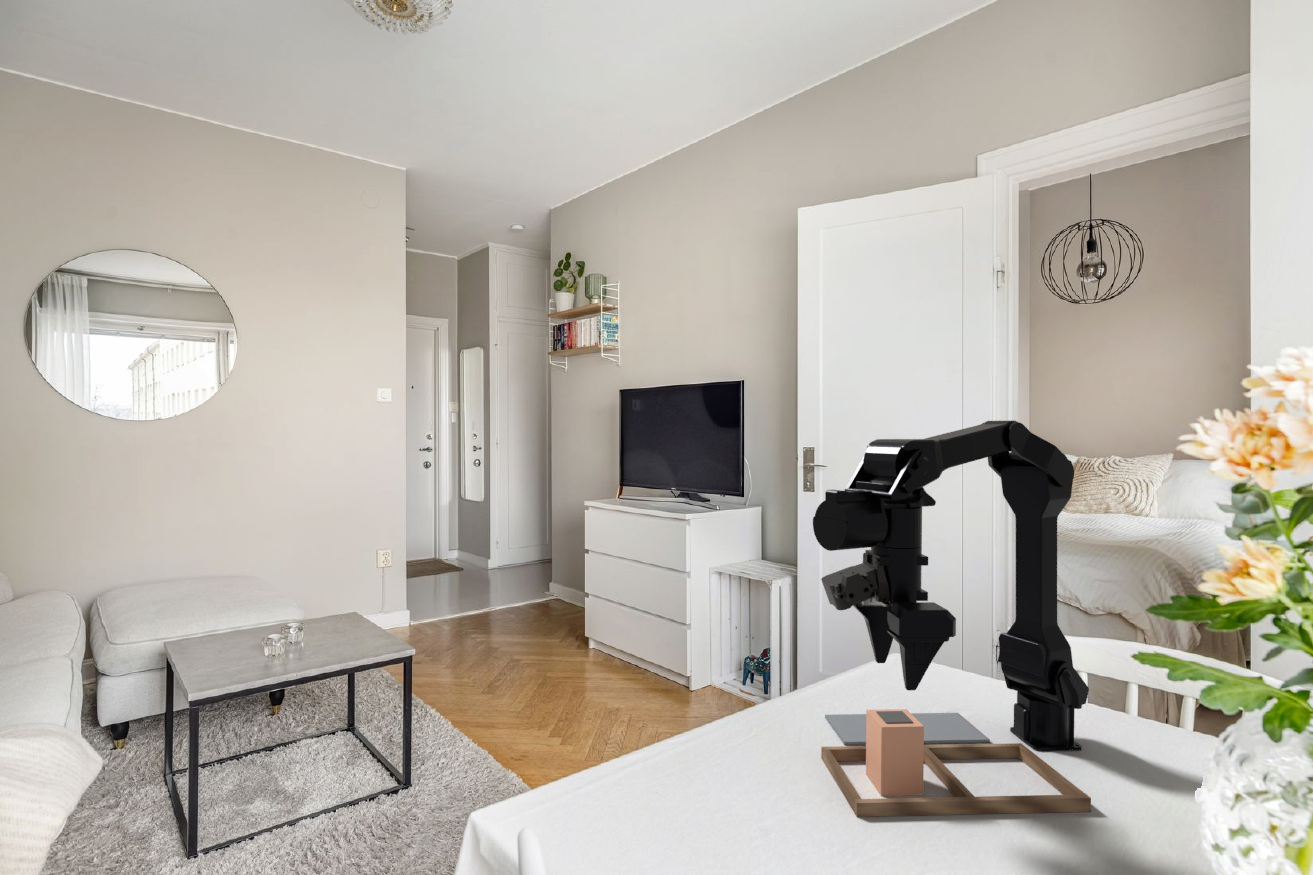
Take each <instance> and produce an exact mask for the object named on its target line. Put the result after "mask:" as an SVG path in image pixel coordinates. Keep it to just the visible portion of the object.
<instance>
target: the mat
mask: <svg viewBox="0 0 1313 875" xmlns="http://www.w3.org/2000/svg"><path fill="white" fill-rule="evenodd" d="M910 713H911V712H910ZM911 714H912V715H913V716H914V717H915V718H916V719H917V720H918V721H919V722H920V723H921V724H922V725H923V726H924V745H928V744H986V743H991V740H990V738H989V737H988V736H986V735H985V734H984V733H983V732H982V731H981V730H979V729H978V728H976V726H974V725H973V724H972V723H971V722H970V721H968V720H967V718H965V717H964V716H963V715H962V714H960V713H959V712H924V713H923V712H919V713H917V712H916V713H914V712H913V713H911ZM824 718H825V720H826V721H827V723H828V724H829V726H830V727H831V728H832V730H833V731H834V733H835V734H836V735H837V737H838V738H839V740H840V741H841V742H842V744H843V746H859V745H860V746H866V713H859V714H858V713H855V714H854V713H853V714H852V713H850V714H847V713H846V714H843V713H842V714H841V713H840V714H824Z"/></svg>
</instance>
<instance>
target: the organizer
mask: <svg viewBox="0 0 1313 875" xmlns="http://www.w3.org/2000/svg"><path fill="white" fill-rule="evenodd" d="M820 750H821V752H820V754H821V755H820V756H821V758H820V759H821V760H822V762H823V764H824V765H825V767H826V768H827V770H828V772H829V774H830V775H831V777H832V779H833V780H834V782H835V783H836V785H837V786H838V788H839V790H840V792H841V793H842V795H843V797H844V798H845V800H846V802H847V803H848V805H849V806H850V808H851V810H852V811H853V813H854V815H855V816H856V818H857V817H858V818H859V817H862V818H863V817H901V816H903V817H904V816H905V817H907V816H945V815H987V814H989V815H991V814H992V815H993V814H994V815H995V814H997V815H999V814H1032V813H1033V814H1034V813H1035V814H1036V813H1037V814H1039V813H1043V814H1044V813H1078V812H1080V813H1081V812H1082V813H1083V812H1084V813H1085V812H1092V811H1091V808H1092V798H1091V797H1090V796H1089V795H1088V794H1087V793H1085V792H1084V791H1083V790H1081V789H1080V788H1079V787H1077V786H1076V785H1075V784H1074V783H1073V782H1072V781H1071V780H1069V779H1067V778H1066V777H1065V776H1063V775H1062V774H1061V772H1059V771H1057V770H1056V769H1054V768H1053V767H1052V766H1051V765H1049V764H1048V763H1047V762H1046V761H1044V760H1043V759H1042V758H1041V757H1039V756H1038V755H1037V754H1035V753H1034V752H1033V751H1032V750H1030V749H1029V748H1028V747H1027V746H1025V744H1023V743H1020V742H1019V743H952V744H924V764H925V765H926V766H927V767H928V768H929V769H930V771H931V772H932V773H933V774H934V775H935V776H936V778H938V779H939V780H940V782H941V783H943V785H944V786H945V787H946V788H947V789H948V791H950V792H951V793H952V795H953V796H940V797H937V796H936V797H901V798H900V797H898V798H897V797H896V798H895V797H894V798H889V797H888V798H887V797H886V798H862V797H861V795H860V794H859V793H858V791H857V790H856V788H855V787H854V785H853V783H852V782H851V780H850V778H848V776H847V774H846V772H845V771H844V769H843V768H842V767H841V765H840V764H839V762H849V761H850V762H851V761H852V762H853V761H854V762H855V761H856V762H859V761H861V762H863V761H865V762H866V745H860V746H859V745H843V746H821V748H820ZM1016 758H1018V759H1020V760H1021V762H1023V763H1024V764H1026V765H1027V766H1028V767H1029V768H1030V769H1032V771H1034V772H1035V773H1036V774H1038V775H1039V776H1040V777H1041V778H1042V779H1044V780H1045V781H1046V782H1047V783H1048V784H1049V785H1051V786H1052V787H1053V788H1055V790H1057V791H1058V792H1059V793H1061V794H1044V795H1043V794H1042V795H1041V794H1040V795H1038V794H1037V795H1034V794H1033V795H993V796H990V795H988V796H987V795H986V796H984V795H983V796H975V795H974V794H973V793H972V792H971V791H970V790H969V788H967V787H966V786H965V785H964V784H963V783H962V782H961V781H960V780H959V778H958V777H956V776H955V775H954V773H952V771H951V770H950V769H949V768H948V767H947V766H946V765H945V764H944V763H943V762H942V761H941V760H958V759H960V760H962V759H963V760H964V759H965V760H971V759H972V760H973V759H976V760H977V759H1016Z"/></svg>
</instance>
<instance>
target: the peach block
mask: <svg viewBox="0 0 1313 875" xmlns="http://www.w3.org/2000/svg"><path fill="white" fill-rule="evenodd" d="M865 714H866V745H865V746H866V761H865V776H866V777H867V778H868V780H869V781H870V783H871V784H872V785H873V787H874V788H875V790H876V791H877V793H878V794H879V795H880V797H885V796H886V797H888V796H890V797H891V796H893V797H894V796H896V797H897V796H923V795H924V771H925V770H924V768H925V766H924V764H925V763H924V745H925V744H924V726H923V725H922V724H921V723H920V722H919V721H918V720H917V719H916V718H915V717H914V716H913V715H912V714H911V712H910V711H909V710H908V709H906V708H902V709H901V708H900V709H899V708H897V709H896V708H895V709H892V708H891V709H866V711H865Z"/></svg>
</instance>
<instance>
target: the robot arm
mask: <svg viewBox="0 0 1313 875" xmlns="http://www.w3.org/2000/svg"><path fill="white" fill-rule="evenodd" d="M986 458H987V463H988V467H990V469H991V470H993V471H994V473H995V474H996V475H997V476H998V477H999V478H1000V481H1001V490H1002V495H1003V498H1004V499H1005V501H1006V503H1007V504H1008V505H1009V508H1010V509H1011V511H1012V512H1013V514H1014V517H1015V519H1014V520H1015V620H1014V622H1013V623H1012V625H1011V626H1010V627H1009V629H1008V630H1007V632H1001V633H1000V634H999V637H998V646H999V648H998V649H999V651H998V653H999V654H998V658H997V662H998V663H1000V669H1001V671H1002V672H1001V673H1002V674H1003V677H1004V681H1005V684H1006V688H1007V689H1009V690H1014V691H1016V703H1015V702H1014V705H1013V726H1011V727H1010V728H1009V732H1010V733H1011V734H1013V735H1015V736H1016V737H1017V738H1018V739H1019V740H1020V741H1022V742H1023V743H1025V744H1026V745H1027V746H1029V747H1030V748H1031V749H1032V750H1034V751H1037V752H1061V751H1064V752H1065V751H1066V752H1067V751H1068V752H1069V751H1082V750H1083V746H1082V745H1081V744H1079V743H1078V742H1077V741H1075V709H1076V710H1081V709H1082V707H1083V706H1082V705H1086V703H1087V699H1088V695H1089V692H1090V687H1089V685H1087V684H1086V682H1085V681H1084V680H1083V678H1082V676H1080V675H1079V673H1078V672H1077V671H1076V669H1075V668H1074V665H1073V664H1074V662H1073V654H1072V648H1071V645H1070V643H1069V642H1068V640H1067V638H1066V636H1065V634H1064V633H1063V631H1062V630H1061V628H1060V627H1059V624H1058V518H1059V515H1060V514H1061V512H1062V511H1063V509H1065V507H1066V506H1067V504H1068V503H1069V501H1070V500H1071V499H1072V498H1071V497H1072V491H1073V490H1072V489H1073V481H1074V478H1075V468H1074V465H1073V463H1072V460H1070V459H1069V458H1068V457H1067V456H1066V454H1065V453H1063V452H1062V451H1061V450H1060V449H1059V448H1058V447H1057V446H1056V445H1054V444H1053V443H1051V442H1050V441H1047V440H1046V439H1044V438H1042V437H1040V436H1038V435H1036V434H1035V433H1032V431H1030V430H1029V429H1028V428H1027V427H1026V426H1025V425H1024V424H1023V423H1022V422H1018V421H1017V420H987V421H985V422H982V423H981V424H978V425H974V426H973V425H972V426H970V427H969V426H968V427H965V428H961V429H958V430H953V431H949V432H945V433H942V434H938V435H934V436H929V437H926V438H883V439H882V438H878V439H875V440H872V441H871V442H869V443H868V444H867V446H866V450H865V453H864V456H863V457H862V459H861V461H860V462H859V464H858V466H857V467H856V469H855V471H854V473H853V474H852V475H851V478H850V480H849V481H848V482H847V485H846V486H845V489H844V490H840V489H839V490H838V489H826V490H825V494H824V495H825V496H824V498H825V500H823V501H821V503H820V504H819V505H818V506H817V508H816V510H815V513H814V516H813V518H812V527H813V528H812V529H813V533H814V536H815V538H816V540H817V543H818V544H819V545H820V546H821V547H822V549H825V550H827V551H828V552H829V551H831V552H833V551H843V550H844V551H845V550H856V549H865V548H870V549H865V552H862V553H863V554H862V563H859V564H856V565H852V566H848V567H845V568H842V569H840V570H838V571H834V572H832V573H830V574H827V575H824V576H823V577H822V578H820V579H821V583H822V586H823V588H824V591H825V594H826V597H827V599H828V603H829V604H830V605H832V606H834V607H835V609H836V610H837V611H845V610H849V609H851V608H852V607H854V609H855V610H857V612H858V613H860V614H861V616H862V617H863V618H864V622H865V625H866V629H867V633H868V636H869V641H870V644H871V648H872V651H873V652H872V653H873V656H874V659H875V663H877V664H885V663H886V662H887V658H888V657H889V654H890V650H891V647H892V644H893V641H896V642H897V644H898V646H899V652H900V662H901V668H902V676H903V682H904V688H905V690H906V691H916V690H917V689H918V687H919V685H920V684H921V681H922V680H923V678H924V676H925V675H926V672H927V670H928V668H929V667H930V665H931V663H932V661H933V660H934V658H935V656H936V655H937V653H938V652H939V650H940V649H941V647H942V646H943V644H944V643H945V642H949V641H950V638H954V637H955V636H957V635H956V634H957V633H956V632H957V625H956V624H957V617H955V616H954V615H953V613H952V612H950V611H949V610H948V609H946V608H945V607H943V606H941V605H939V604H938V603H936V602H932V601H931V602H929V601H928V600H929V592H928V591H926V590H925V589H923V588H922V568H923V566H929V556H927V555H924V554H923V552H922V550H923V549H922V548H923V545H922V544H923V538H922V537H923V535H922V534H923V530H922V529H923V508H924V507H934V506H935V505H936V503H937V501H936V499H934V498H933V497H932V496H931V495H930V494H929V493H928V492H927V491H926V490H925V488H924V487H926V486H928V485H929V484H931V483H933V482H935V481H937V480H938V479H939V478H940V477H941V475H942V474H943V472H944V471H946V470H947V469H950V468H953V467H957V466H958V467H959V466H961V465H964V464H967V463H971V462H974V461H978V460H981V459H986Z"/></svg>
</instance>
